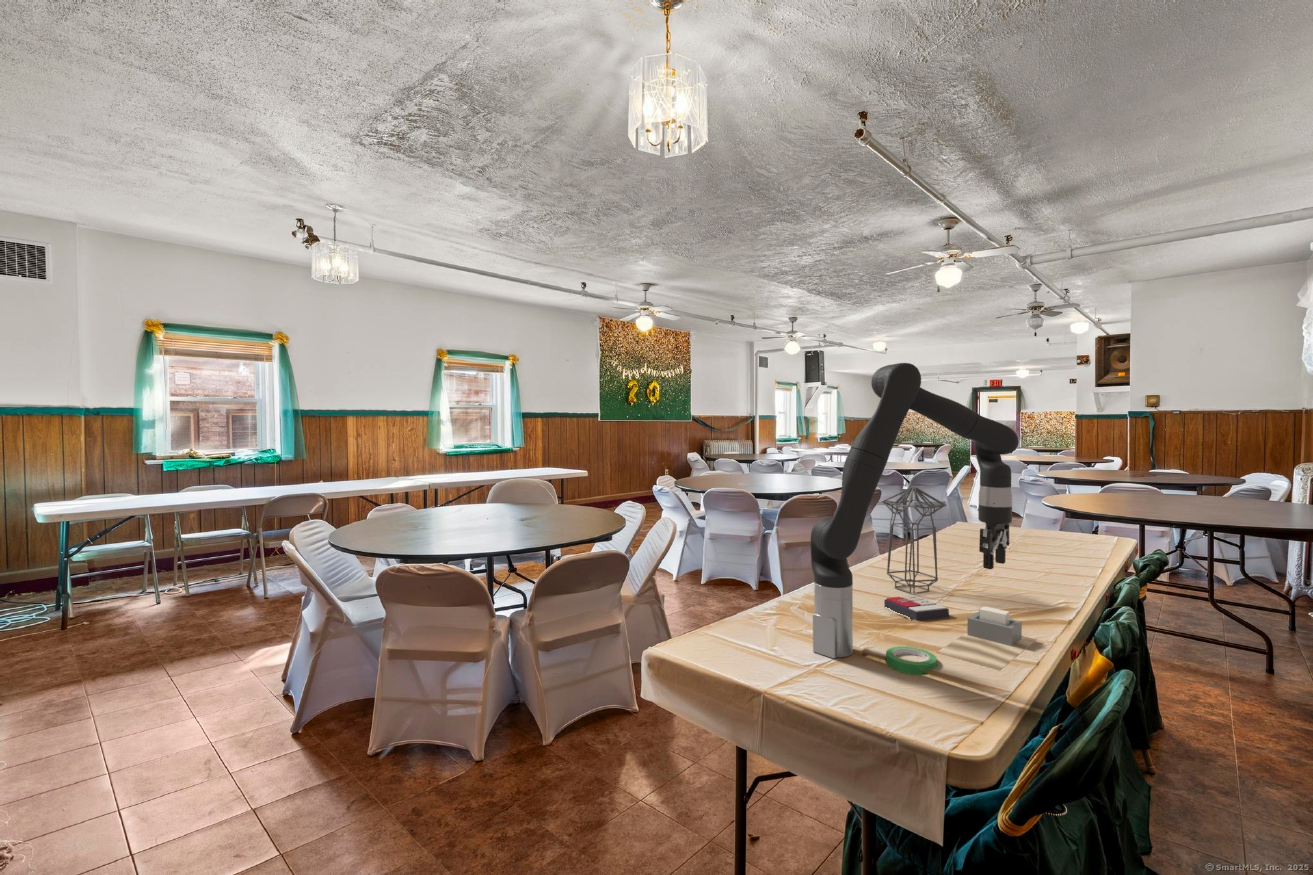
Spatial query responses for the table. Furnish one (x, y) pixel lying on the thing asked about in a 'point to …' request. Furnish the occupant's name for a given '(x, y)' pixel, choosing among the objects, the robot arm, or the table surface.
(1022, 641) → the beige mat
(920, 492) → the geometric lantern
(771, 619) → the table surface
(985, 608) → the white block
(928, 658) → the tape roll
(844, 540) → the robot arm
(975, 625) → the end holder
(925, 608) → the calculator
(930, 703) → the table surface
